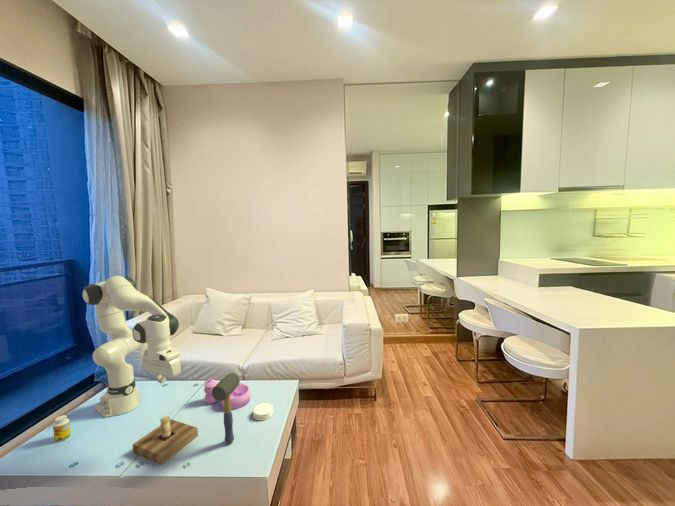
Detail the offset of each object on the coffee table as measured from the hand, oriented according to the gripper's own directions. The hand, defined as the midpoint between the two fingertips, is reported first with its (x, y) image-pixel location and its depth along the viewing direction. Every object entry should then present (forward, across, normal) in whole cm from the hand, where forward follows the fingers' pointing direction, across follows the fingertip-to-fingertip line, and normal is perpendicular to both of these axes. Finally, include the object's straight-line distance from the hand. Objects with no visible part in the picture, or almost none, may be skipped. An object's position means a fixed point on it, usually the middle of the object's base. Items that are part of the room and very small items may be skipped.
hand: (161, 382), depth 130 cm
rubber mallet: (+29, +26, +11) cm, 41 cm away
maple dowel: (+29, 0, 0) cm, 29 cm away
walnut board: (+29, 0, 0) cm, 29 cm away
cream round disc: (+29, +28, +33) cm, 52 cm away
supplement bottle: (+29, -50, -15) cm, 60 cm away
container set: (+29, +2, +35) cm, 46 cm away
